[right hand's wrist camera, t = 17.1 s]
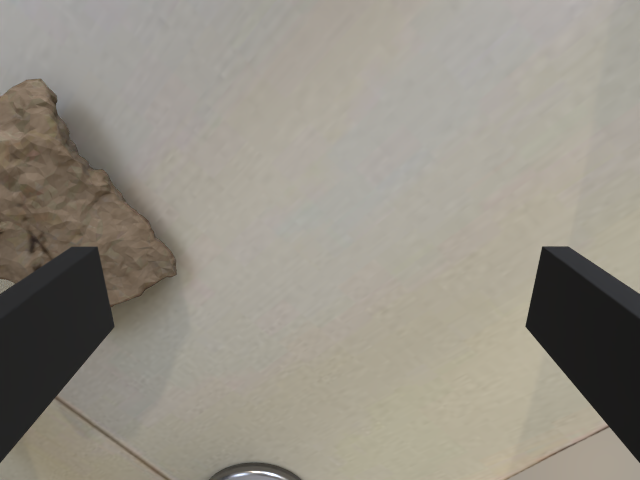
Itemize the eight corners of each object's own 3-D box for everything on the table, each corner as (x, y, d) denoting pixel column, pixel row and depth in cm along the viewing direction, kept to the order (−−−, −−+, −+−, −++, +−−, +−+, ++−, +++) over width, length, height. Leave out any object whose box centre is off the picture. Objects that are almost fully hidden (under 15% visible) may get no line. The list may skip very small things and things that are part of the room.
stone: (-103, 157, 36) (-155, 174, 31) (46, 72, 36) (21, 73, 31) (72, 319, 46) (56, 353, 40) (187, 250, 46) (187, 274, 41)
